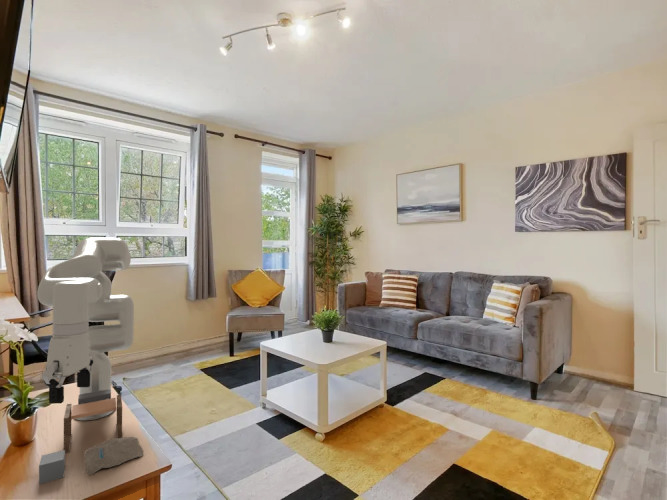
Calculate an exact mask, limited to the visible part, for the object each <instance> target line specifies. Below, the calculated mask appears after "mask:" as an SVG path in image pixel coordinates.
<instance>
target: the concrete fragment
mask: <svg viewBox="0 0 667 500" xmlns="http://www.w3.org/2000/svg"><path fill="white" fill-rule="evenodd" d="M143 455H144V450H143V447H142V446H141V444H140V441H139V438H138V437H136V436H133V435H132V436H123V437H122V438H117V437H116V438H115V437H114V438H110V439H107V440H105V441H103V442H101V443H99V444H97V445H95V446H91V447H89V448H87V449H86V450H85V451H84V458H83V459H84V464H85V470H86V472H87V474H88V475H89V476H91V475H93V474H95V473H96V472H98V471H99V470H101V469H107V468H112V467H116V466H119V465H121V464H122V463H125V462H128V461H131V460H133V459H136V458H140V457H143Z"/></svg>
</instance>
